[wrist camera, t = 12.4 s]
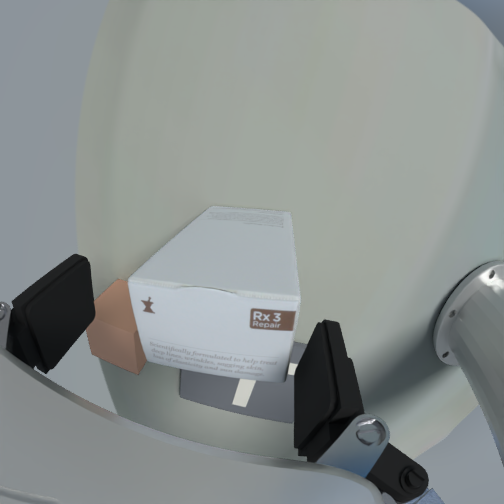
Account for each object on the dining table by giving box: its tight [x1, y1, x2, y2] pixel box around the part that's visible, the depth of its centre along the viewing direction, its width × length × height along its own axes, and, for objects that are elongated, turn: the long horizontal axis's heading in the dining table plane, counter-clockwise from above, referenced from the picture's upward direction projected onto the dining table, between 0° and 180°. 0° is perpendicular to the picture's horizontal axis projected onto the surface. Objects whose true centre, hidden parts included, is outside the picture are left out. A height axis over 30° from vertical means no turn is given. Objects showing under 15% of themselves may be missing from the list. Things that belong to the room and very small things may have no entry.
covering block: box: [86, 279, 147, 375], centre depth 22 cm, size 5×5×6 cm
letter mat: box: [180, 342, 307, 423], centre depth 26 cm, size 14×13×1 cm
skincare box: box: [128, 206, 301, 383], centre depth 15 cm, size 6×4×12 cm
